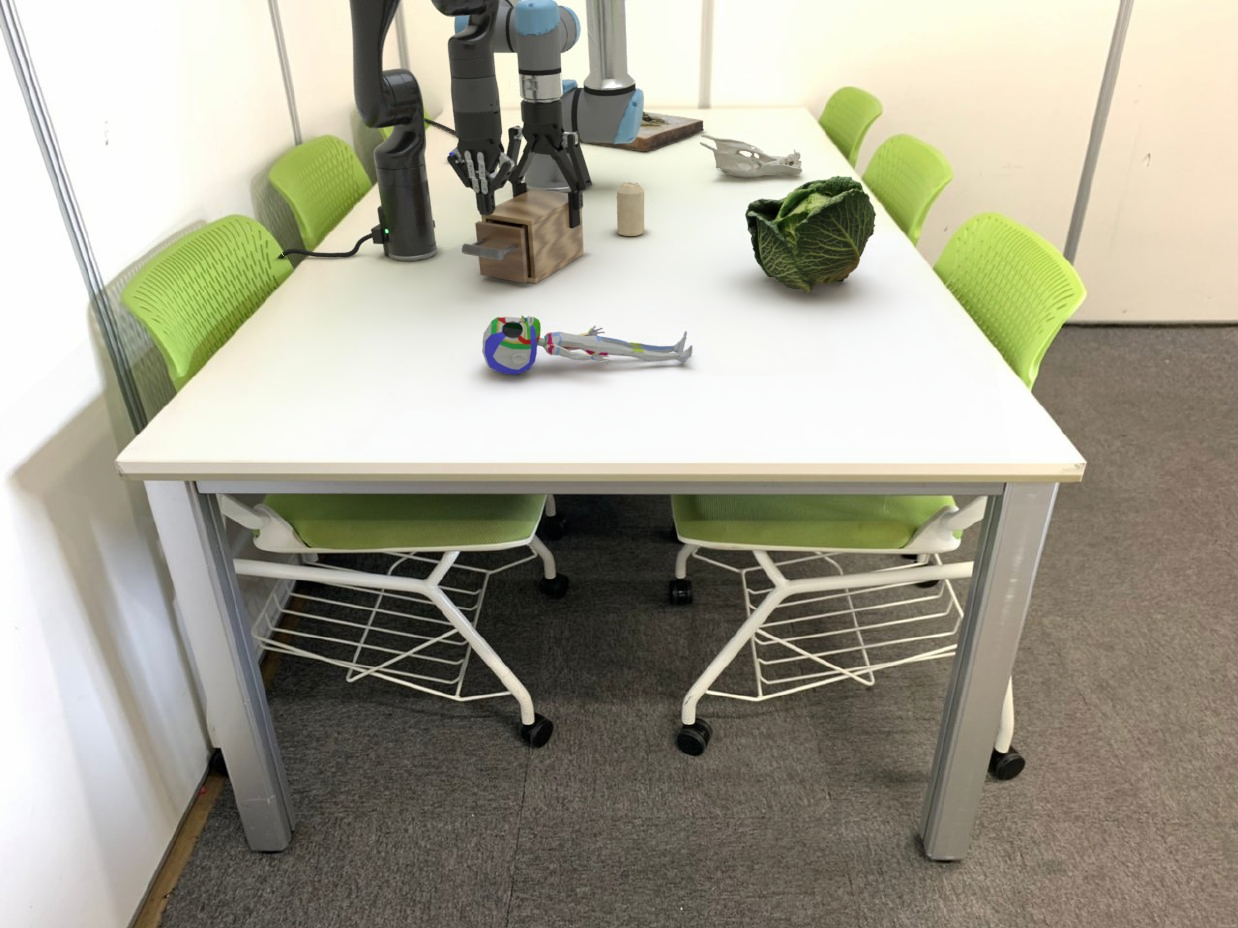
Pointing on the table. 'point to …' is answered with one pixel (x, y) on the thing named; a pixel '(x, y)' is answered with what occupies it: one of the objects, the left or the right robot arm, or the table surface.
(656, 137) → the plaque
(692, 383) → the table surface
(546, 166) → the right robot arm
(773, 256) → the vegetable
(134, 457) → the table surface
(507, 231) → the drawer
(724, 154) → the anatomical model
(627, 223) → the candle
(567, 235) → the cabinet
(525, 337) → the toy
